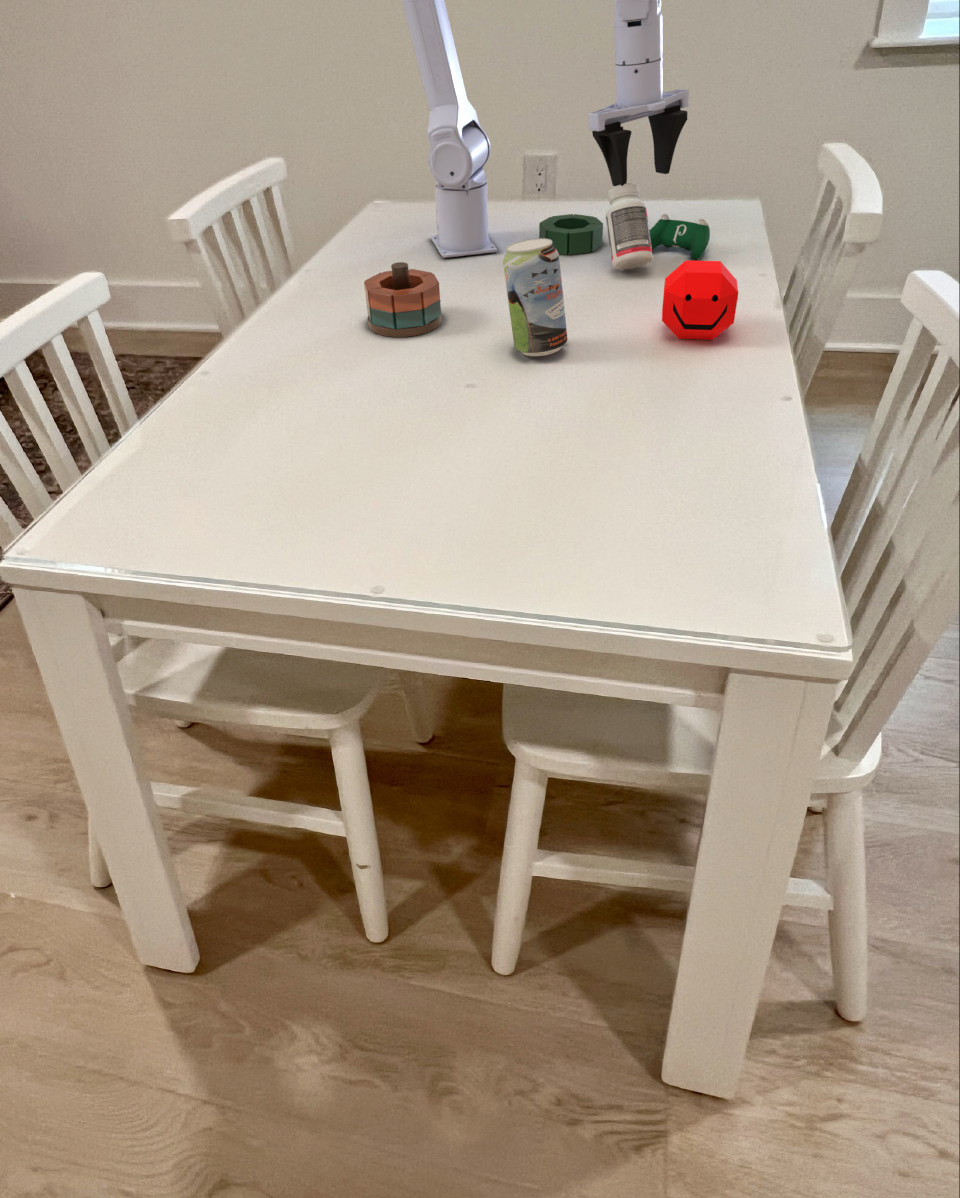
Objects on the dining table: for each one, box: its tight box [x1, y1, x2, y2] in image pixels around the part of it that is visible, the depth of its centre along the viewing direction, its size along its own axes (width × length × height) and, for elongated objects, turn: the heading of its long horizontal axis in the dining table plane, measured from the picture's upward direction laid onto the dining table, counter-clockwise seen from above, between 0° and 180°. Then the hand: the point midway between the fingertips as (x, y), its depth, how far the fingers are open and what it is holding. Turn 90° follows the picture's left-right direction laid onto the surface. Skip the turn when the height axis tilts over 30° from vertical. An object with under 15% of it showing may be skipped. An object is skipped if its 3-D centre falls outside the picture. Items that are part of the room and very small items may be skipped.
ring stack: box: [363, 261, 442, 338], centre depth 107 cm, size 9×9×7 cm
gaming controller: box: [649, 213, 711, 261], centre depth 124 cm, size 9×4×6 cm
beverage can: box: [502, 238, 568, 357], centre depth 97 cm, size 6×7×12 cm
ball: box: [661, 259, 739, 341], centre depth 101 cm, size 8×8×8 cm
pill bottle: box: [605, 182, 653, 270], centre depth 118 cm, size 5×5×10 cm
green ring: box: [538, 213, 604, 256], centre depth 128 cm, size 9×9×3 cm
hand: (641, 179), depth 118 cm, fingers open, 7 cm apart
